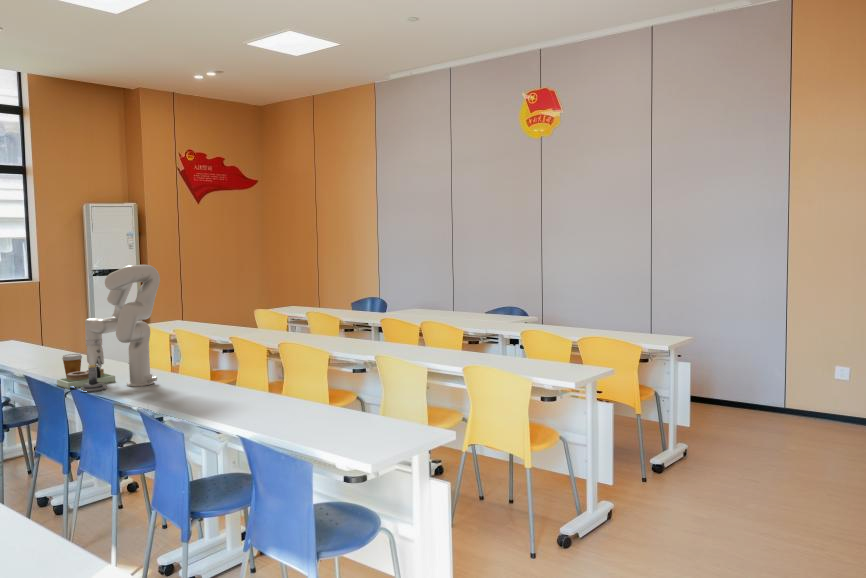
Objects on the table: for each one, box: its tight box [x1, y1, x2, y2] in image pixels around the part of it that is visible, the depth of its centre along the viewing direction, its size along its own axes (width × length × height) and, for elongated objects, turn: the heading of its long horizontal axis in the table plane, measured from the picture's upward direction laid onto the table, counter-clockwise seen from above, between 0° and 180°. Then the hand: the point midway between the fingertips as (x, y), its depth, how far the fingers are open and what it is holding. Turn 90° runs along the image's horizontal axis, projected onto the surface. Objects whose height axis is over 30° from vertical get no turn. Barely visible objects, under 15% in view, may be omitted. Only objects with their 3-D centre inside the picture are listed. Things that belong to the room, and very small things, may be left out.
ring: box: [67, 367, 105, 380], centre depth 349 cm, size 16×10×3 cm, turn 138°
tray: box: [56, 372, 116, 390], centre depth 349 cm, size 23×15×3 cm, turn 138°
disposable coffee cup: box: [61, 353, 83, 378], centre depth 365 cm, size 10×10×12 cm
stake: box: [80, 364, 107, 393], centre depth 334 cm, size 11×11×12 cm
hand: (95, 377), depth 353 cm, fingers closed on ring, 3 cm apart
